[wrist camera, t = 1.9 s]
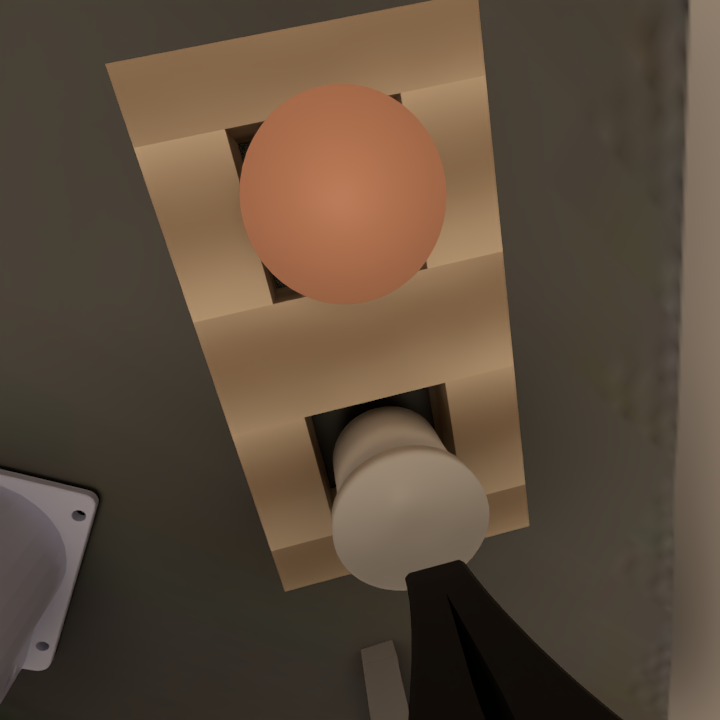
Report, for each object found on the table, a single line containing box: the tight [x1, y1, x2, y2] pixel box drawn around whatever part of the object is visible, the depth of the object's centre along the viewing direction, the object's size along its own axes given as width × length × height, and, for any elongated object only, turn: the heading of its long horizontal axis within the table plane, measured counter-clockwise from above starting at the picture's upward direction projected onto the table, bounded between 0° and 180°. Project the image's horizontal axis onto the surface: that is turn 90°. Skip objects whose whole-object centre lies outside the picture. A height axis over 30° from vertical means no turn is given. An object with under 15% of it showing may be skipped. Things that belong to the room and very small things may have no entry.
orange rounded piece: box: [239, 84, 447, 304], centre depth 12 cm, size 5×5×4 cm
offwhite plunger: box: [331, 406, 489, 591], centre depth 15 cm, size 5×5×4 cm
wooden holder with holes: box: [105, 0, 529, 591], centre depth 16 cm, size 18×10×3 cm, turn 12°
